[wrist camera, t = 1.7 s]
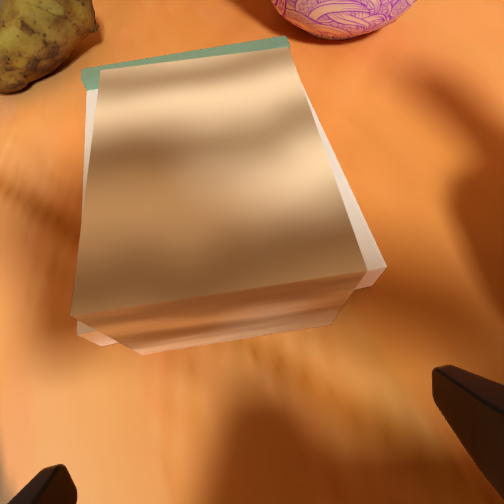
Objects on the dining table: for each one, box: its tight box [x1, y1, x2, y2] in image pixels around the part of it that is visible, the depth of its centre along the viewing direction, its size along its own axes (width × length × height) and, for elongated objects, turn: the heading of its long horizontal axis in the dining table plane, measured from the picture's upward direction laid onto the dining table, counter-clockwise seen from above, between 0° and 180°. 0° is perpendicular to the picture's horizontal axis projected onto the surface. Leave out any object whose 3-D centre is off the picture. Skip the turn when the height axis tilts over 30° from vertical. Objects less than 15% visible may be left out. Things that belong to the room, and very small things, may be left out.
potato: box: [0, 0, 99, 92], centre depth 31 cm, size 8×13×8 cm, turn 116°
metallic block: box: [70, 47, 368, 355], centre depth 20 cm, size 16×12×8 cm
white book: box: [77, 36, 387, 346], centre depth 24 cm, size 23×18×4 cm
